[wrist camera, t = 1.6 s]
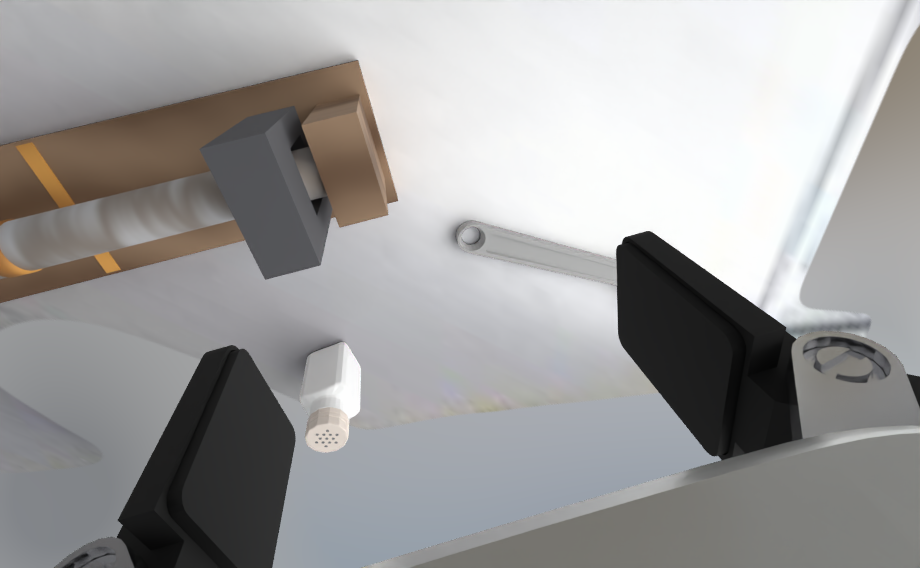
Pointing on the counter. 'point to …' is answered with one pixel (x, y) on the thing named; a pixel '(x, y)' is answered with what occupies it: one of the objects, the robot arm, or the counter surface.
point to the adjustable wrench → (538, 253)
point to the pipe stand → (173, 180)
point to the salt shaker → (330, 396)
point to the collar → (270, 191)
